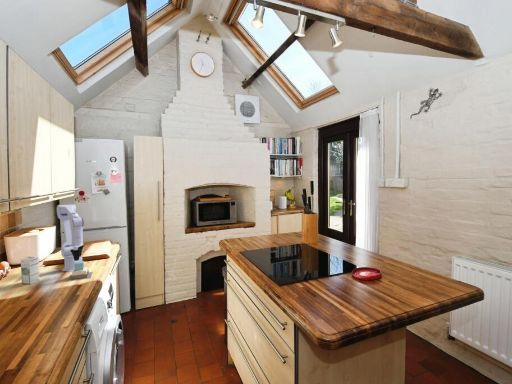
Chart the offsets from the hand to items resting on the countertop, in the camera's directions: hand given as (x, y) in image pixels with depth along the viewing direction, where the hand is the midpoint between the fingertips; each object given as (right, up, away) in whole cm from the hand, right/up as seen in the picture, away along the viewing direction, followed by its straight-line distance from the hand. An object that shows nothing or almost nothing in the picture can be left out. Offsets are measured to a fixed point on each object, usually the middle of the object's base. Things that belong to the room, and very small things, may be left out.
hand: (77, 258), depth 161 cm
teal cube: (+3, -6, -2) cm, 7 cm away
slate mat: (+3, -11, -2) cm, 11 cm away
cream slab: (+3, -8, -2) cm, 9 cm away
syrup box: (-20, -11, -11) cm, 25 cm away
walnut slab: (+3, -10, -2) cm, 11 cm away
